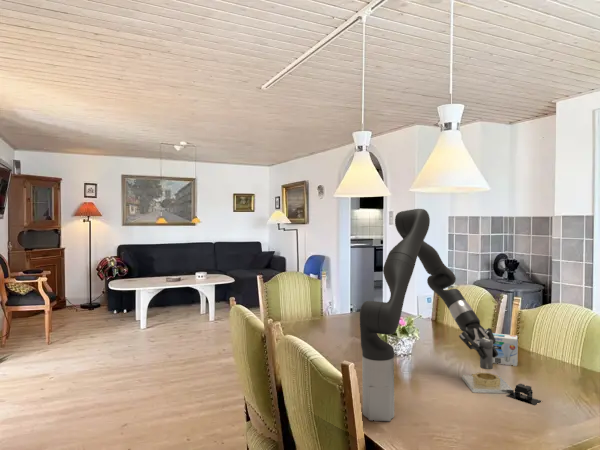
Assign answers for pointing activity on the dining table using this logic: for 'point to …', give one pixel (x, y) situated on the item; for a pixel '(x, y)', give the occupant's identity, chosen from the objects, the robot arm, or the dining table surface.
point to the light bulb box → (506, 349)
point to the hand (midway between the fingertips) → (490, 357)
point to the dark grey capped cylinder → (487, 347)
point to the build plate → (524, 398)
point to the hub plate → (487, 383)
